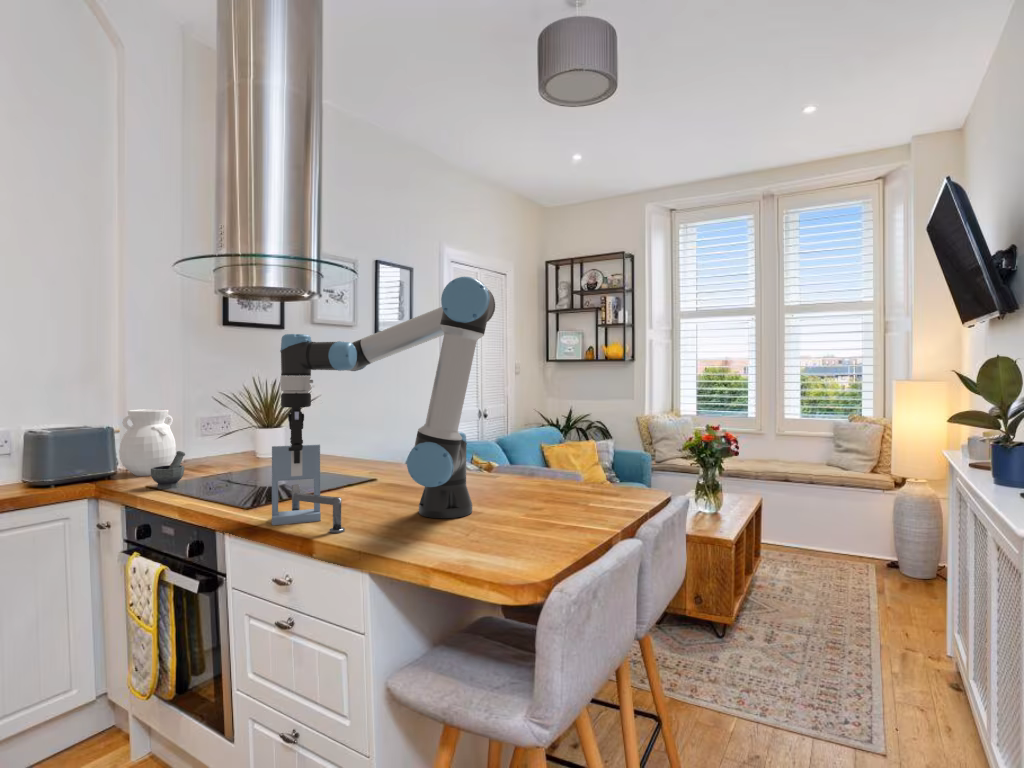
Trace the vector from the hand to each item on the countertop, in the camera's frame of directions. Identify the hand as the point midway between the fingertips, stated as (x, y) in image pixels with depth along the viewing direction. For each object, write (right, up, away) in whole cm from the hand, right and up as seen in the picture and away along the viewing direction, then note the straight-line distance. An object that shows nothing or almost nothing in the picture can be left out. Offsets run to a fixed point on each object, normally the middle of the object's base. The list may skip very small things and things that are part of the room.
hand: (296, 471), depth 151 cm
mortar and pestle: (-60, -12, +44) cm, 76 cm away
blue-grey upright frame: (0, -13, 0) cm, 13 cm away
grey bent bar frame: (+6, -13, -2) cm, 15 cm away
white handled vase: (-84, -12, +69) cm, 109 cm away
